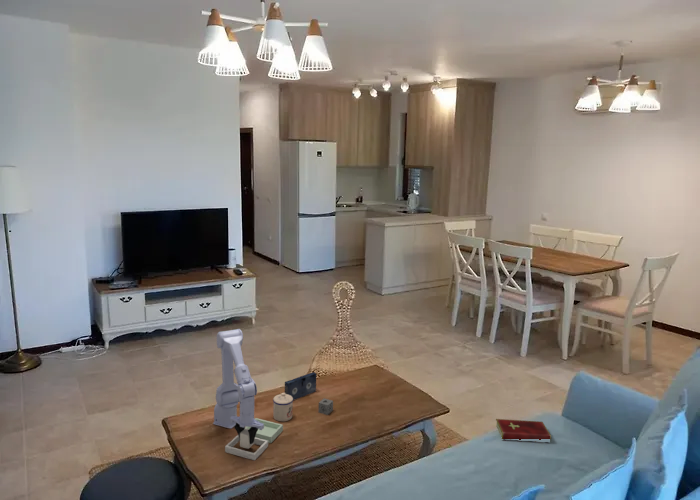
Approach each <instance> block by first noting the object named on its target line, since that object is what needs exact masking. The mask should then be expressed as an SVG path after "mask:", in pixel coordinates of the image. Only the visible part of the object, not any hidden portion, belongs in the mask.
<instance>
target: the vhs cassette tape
mask: <svg viewBox="0 0 700 500" xmlns="http://www.w3.org/2000/svg"><path fill="white" fill-rule="evenodd" d="M316 391H317V373H316V372H315V371H313V372H310V373H306V374H305V375H304V374H303V375H301V376H298V377H296V378H293V379H289V380H287V381H285V382H284V393H285V394H288V395H291V396H292V397H293V401H295V400H297V399H298V400H299V399H301V398H302V397H305V396H308V395H310V394H313V393H315V392H316Z"/></svg>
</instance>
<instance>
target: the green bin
mask: <svg viewBox="0 0 700 500" xmlns="http://www.w3.org/2000/svg"><path fill="white" fill-rule="evenodd" d="M254 419H255V420H257V421H259V422H261V423H263V424H264V428H263V429H262V430H259V429H258V431H257V433H256V435H255V437H256V438H259V439H263V440H267V441H268V444H272V443H273V442H274V441H275V439H277V437H278V436H280V434H281V433H282V432H283V431H284V424H281V423H278V422H273V421H269V420H265V419H262V418H258V417H254ZM245 428H247V429H250V428H251V427H245Z"/></svg>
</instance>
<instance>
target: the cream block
mask: <svg viewBox="0 0 700 500" xmlns="http://www.w3.org/2000/svg"><path fill="white" fill-rule="evenodd" d="M248 430H249V429H247V428H245V429H244V430H243V431H242V432H241V433H240V441H239V447H240V448H243V449H247V450H249V449H250V448H251V447H252V446H253V445H255V444H254V442H253V443H252V444H250V441H249V440H250V437H249V432H248Z"/></svg>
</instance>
